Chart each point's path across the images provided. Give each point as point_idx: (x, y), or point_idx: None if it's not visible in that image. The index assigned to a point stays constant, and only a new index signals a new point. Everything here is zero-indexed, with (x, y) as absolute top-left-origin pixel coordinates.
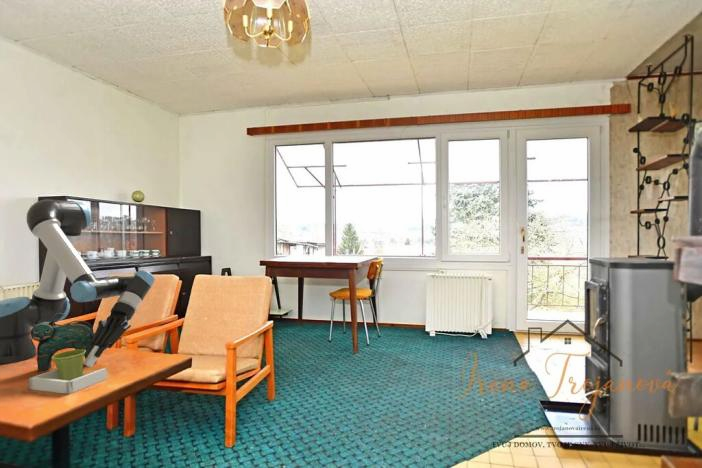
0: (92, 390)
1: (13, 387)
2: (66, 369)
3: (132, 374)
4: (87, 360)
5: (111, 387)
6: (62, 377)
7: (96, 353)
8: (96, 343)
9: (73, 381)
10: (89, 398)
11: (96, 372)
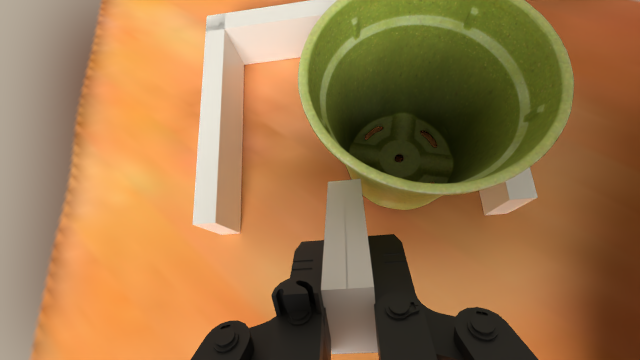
0: (167, 109)
1: (571, 6)
2: (360, 75)
3: (135, 344)
4: (338, 192)
5: (112, 160)
6: (388, 97)
7: (311, 253)
8: (381, 319)
9: (206, 37)
10: (115, 57)
11: (198, 156)
